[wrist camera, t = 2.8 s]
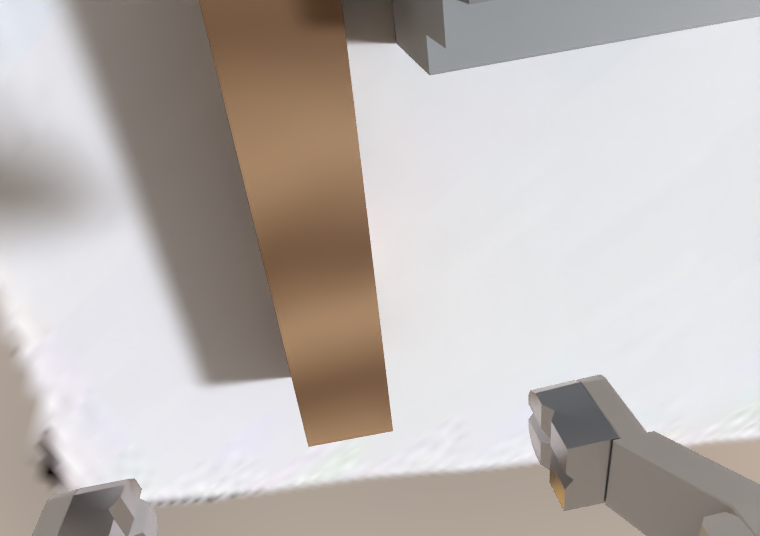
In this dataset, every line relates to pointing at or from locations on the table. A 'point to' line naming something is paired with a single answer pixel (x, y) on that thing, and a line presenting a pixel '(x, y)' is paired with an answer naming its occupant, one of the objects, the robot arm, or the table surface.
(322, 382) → the walnut bar
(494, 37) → the ridge block
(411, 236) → the table surface
